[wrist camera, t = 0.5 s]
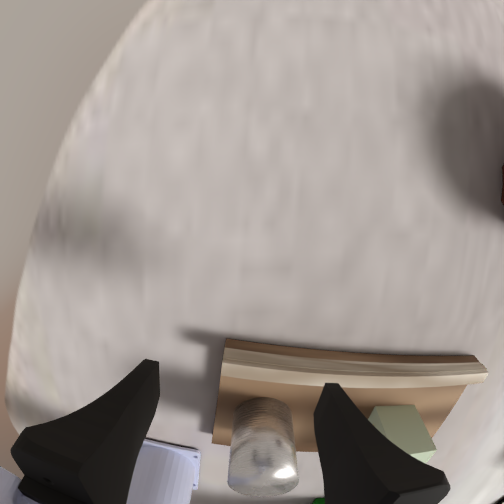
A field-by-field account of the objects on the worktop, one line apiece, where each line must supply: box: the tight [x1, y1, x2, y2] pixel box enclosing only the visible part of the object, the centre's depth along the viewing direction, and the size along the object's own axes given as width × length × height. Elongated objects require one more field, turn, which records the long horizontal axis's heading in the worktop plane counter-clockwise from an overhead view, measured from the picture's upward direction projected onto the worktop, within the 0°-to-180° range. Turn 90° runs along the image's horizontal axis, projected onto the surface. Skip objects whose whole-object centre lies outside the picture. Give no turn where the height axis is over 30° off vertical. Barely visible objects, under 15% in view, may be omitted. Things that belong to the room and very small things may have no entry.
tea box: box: [368, 405, 437, 464], centre depth 22 cm, size 5×6×6 cm
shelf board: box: [212, 338, 488, 452], centre depth 24 cm, size 12×24×3 cm, turn 81°
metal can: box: [228, 397, 299, 497], centre depth 21 cm, size 5×5×7 cm
